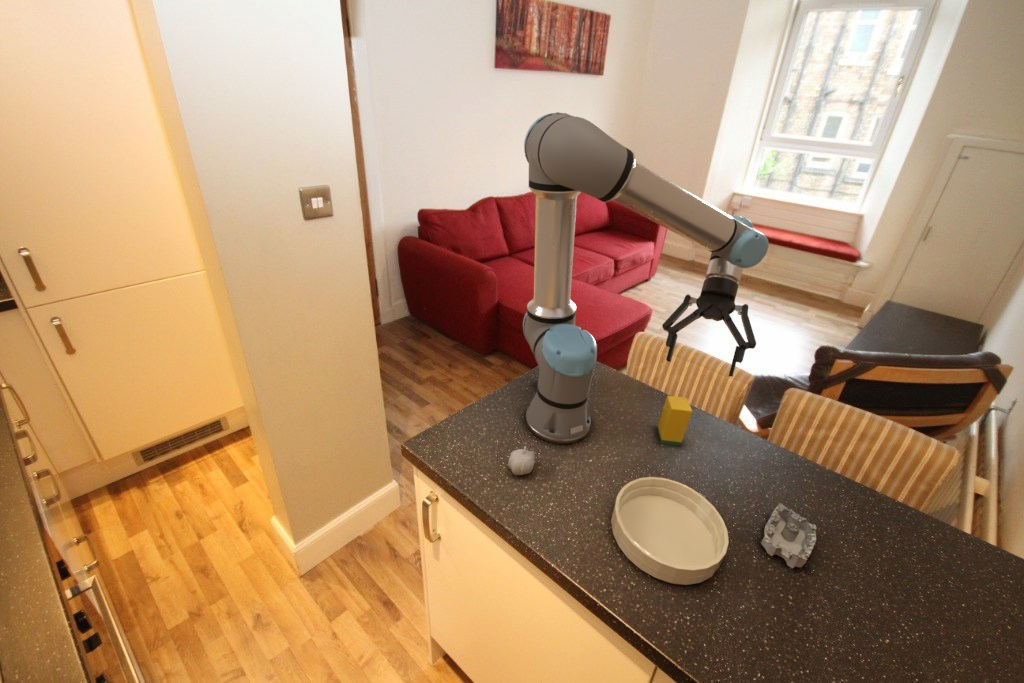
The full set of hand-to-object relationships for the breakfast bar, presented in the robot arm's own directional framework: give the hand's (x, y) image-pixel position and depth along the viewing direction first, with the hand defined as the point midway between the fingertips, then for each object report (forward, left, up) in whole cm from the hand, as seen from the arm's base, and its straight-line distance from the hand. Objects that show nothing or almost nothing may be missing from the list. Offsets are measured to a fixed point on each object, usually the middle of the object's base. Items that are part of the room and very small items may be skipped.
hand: (698, 367), depth 102 cm
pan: (+23, -27, -16) cm, 39 cm away
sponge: (+3, -7, -16) cm, 18 cm away
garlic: (-1, -44, -16) cm, 47 cm away
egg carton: (+33, -7, -16) cm, 38 cm away
